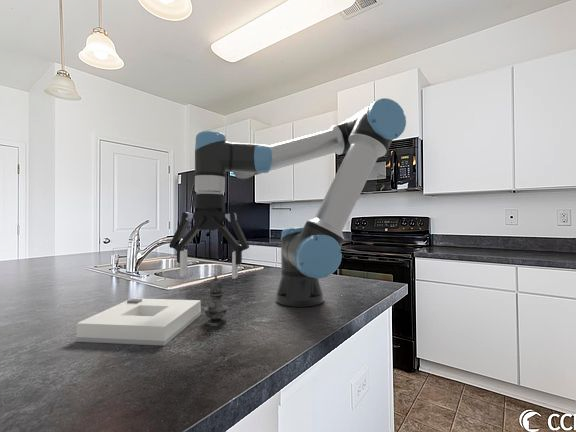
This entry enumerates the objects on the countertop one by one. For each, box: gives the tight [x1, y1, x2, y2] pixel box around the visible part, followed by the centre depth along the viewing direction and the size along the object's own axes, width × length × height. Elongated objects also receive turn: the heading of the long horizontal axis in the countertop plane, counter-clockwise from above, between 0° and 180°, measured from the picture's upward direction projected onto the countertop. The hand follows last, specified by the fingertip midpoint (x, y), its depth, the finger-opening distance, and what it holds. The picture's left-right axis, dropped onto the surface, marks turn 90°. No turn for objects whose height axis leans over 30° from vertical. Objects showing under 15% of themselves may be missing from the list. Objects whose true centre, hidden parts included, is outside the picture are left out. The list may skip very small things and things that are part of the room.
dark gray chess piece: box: [203, 275, 228, 327], centre depth 80 cm, size 6×6×12 cm
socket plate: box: [76, 297, 202, 346], centre depth 77 cm, size 20×20×5 cm
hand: (208, 276), depth 80 cm, fingers open, 13 cm apart
